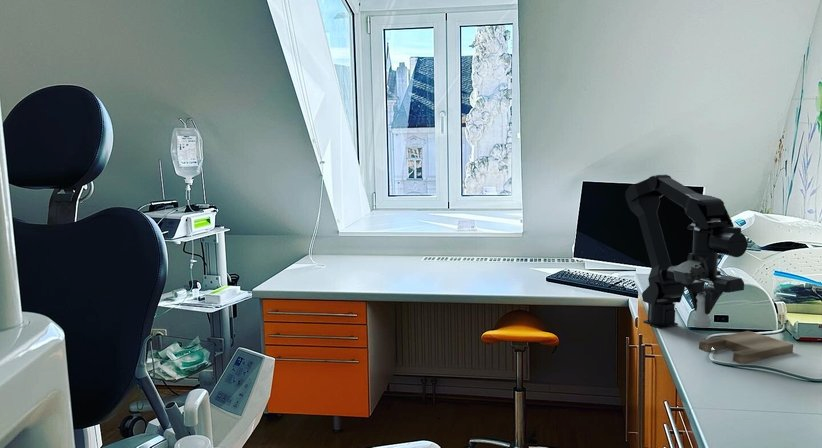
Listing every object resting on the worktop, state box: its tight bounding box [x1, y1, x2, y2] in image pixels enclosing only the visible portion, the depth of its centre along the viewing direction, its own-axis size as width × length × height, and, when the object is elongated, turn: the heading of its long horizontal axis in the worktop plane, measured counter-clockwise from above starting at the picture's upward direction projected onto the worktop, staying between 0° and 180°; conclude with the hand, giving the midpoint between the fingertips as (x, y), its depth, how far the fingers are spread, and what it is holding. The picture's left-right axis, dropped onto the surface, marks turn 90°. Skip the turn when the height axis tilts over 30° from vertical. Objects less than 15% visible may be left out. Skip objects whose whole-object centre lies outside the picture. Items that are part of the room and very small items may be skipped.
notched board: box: [698, 330, 794, 365], centre depth 162 cm, size 12×17×2 cm
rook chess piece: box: [691, 292, 712, 329], centre depth 168 cm, size 4×4×8 cm
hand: (702, 312), depth 169 cm, fingers closed on rook chess piece, 3 cm apart
